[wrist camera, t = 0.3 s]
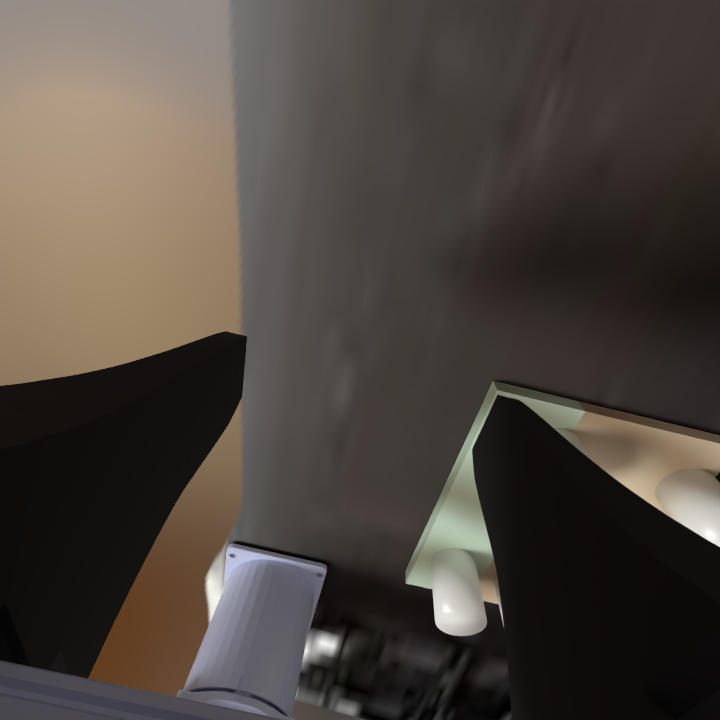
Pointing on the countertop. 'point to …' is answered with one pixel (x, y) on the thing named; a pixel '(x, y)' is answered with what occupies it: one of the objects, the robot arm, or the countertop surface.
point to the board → (601, 440)
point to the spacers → (461, 582)
